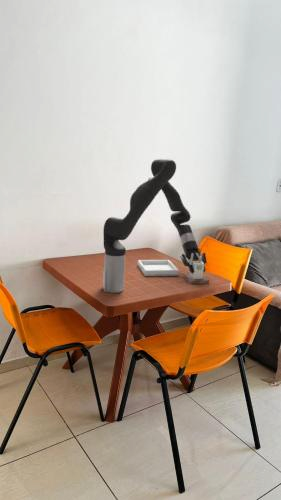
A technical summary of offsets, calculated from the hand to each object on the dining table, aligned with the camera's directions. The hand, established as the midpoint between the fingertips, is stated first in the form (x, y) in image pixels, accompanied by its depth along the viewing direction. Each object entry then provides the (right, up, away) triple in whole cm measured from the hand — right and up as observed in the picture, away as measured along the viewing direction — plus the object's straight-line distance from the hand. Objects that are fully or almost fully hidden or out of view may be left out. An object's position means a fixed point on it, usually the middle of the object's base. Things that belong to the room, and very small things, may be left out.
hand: (198, 272), depth 192 cm
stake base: (-1, -4, +3) cm, 5 cm away
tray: (-20, 0, +14) cm, 25 cm away
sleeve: (-1, -3, +2) cm, 4 cm away
